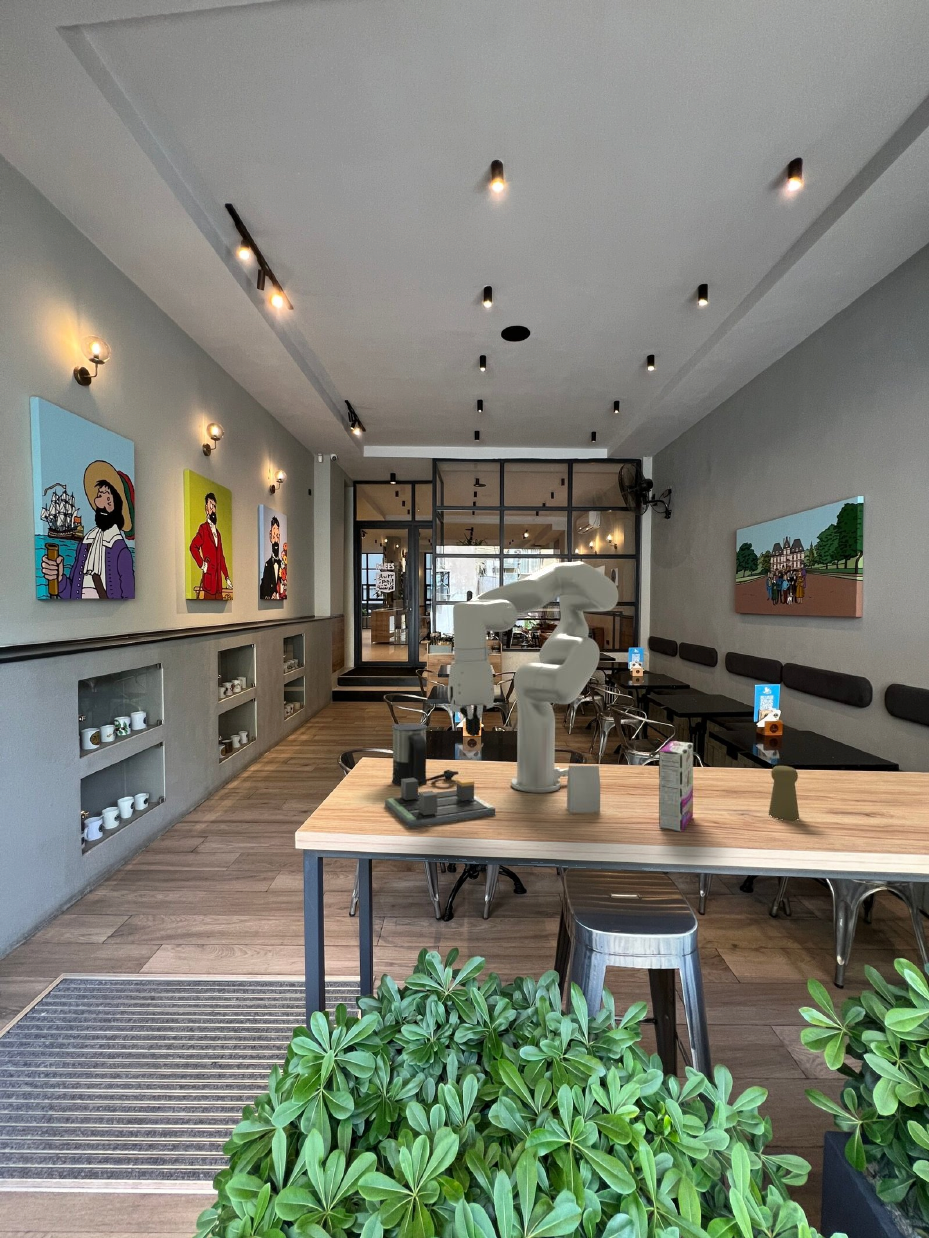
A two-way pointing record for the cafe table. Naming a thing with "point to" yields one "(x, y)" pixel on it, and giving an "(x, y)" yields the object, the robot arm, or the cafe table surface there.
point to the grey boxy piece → (583, 789)
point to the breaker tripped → (465, 789)
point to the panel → (439, 809)
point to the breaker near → (428, 802)
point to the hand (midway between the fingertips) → (473, 734)
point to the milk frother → (412, 754)
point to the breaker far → (409, 788)
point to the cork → (784, 794)
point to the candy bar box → (675, 785)
